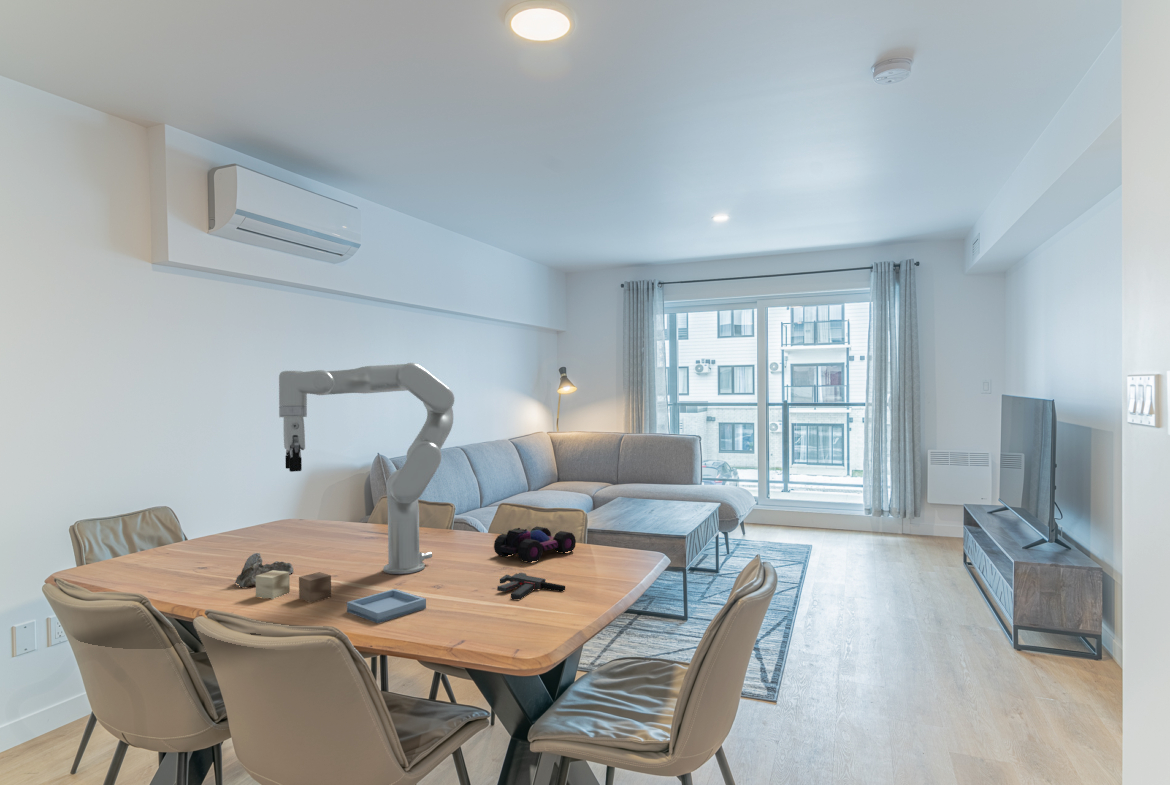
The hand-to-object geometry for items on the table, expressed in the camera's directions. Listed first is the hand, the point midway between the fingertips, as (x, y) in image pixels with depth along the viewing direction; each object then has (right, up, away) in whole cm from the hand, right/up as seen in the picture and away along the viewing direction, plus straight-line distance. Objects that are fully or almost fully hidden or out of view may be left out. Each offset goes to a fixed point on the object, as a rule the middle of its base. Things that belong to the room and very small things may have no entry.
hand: (293, 469), depth 192 cm
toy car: (+70, -33, +30) cm, 83 cm away
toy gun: (+71, -33, -13) cm, 79 cm away
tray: (+36, -33, -27) cm, 55 cm away
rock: (-10, -34, +4) cm, 36 cm away
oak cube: (0, -34, -12) cm, 36 cm away
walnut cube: (+13, -33, -15) cm, 39 cm away
